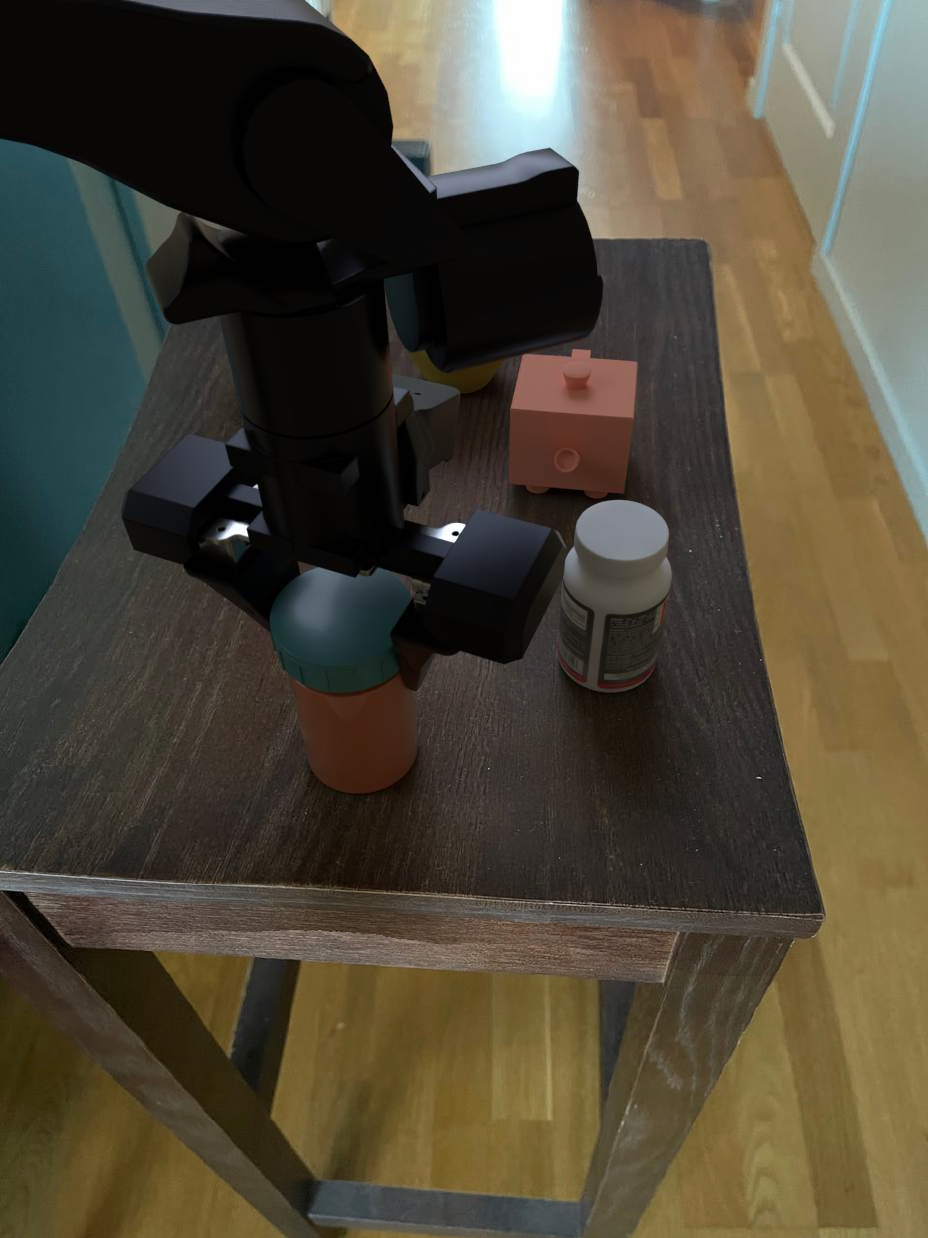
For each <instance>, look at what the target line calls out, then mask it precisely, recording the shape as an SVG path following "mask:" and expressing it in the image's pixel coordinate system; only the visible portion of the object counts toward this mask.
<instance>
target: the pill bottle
mask: <svg viewBox="0 0 928 1238" xmlns="http://www.w3.org/2000/svg"><path fill="white" fill-rule="evenodd" d="M669 539H670V530H669V526H668V523H667V522H666V520H665V519H664V518H663V517H662V515H661V514H660V513H658V512H657V511H655V510H654V509H653V508H651V507H649V506H647V505H645V504H643V503H640V502H636V501H632V500H625V499H613V500H606V501H605V500H604V501H601V502H598V503H596V504H593V505H591V506H590V507H588V508H586V509H585V510H584V511H583V512H582V513H581V514H580V516H579V517H578V518H577V521H576V525H575V531H574V537H573V547H571V549H570V550H569V552H568V554H566V557H565V569H564V576H563V578H562V580H561V593H560V594H561V595H560V607H559V623H558V637H557V656H558V657H557V658H558V660H559V663H560V665H561V668H562V669H563V671H564V672H565V674H566V675H567V677H569V678H570V679H571V680H572V681H574V682H575V683H577V684H579V685H580V686H581V687H584V688H586V689H589V690H592V691H595V692H600V693H621V692H626V691H630V690H632V689H635V688H636V687H638V686H640V685H641V684H644V682H645V681H646V680H648V679H649V678H650V676H651V675H652V673H653V671H654V670H655V668H656V665H657V661H658V659H659V658H658V657H659V651H660V647H661V640H662V634H663V629H664V625H665V620H666V614H667V610H668V603H669V598H670V593H671V588H672V580H673V572H672V566H671V564H670V560H669V559H668V557H667V554H668V547H669Z"/></svg>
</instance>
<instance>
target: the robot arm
mask: <svg viewBox="0 0 928 1238" xmlns="http://www.w3.org/2000/svg"><path fill="white" fill-rule="evenodd" d="M386 88H387V87H386V86H385V84H384V82H383V80H382V79H381V76H380V74H379V72H378V70H377V68H376V66H375V64H374V62H373V60H372V58H371V56H370V55H369V54H368V53H367V52H366V51H365V50H364V49H363V48H362V47H361V46H359V44H357V43H356V42H355V41H354V40H353V39H352V38H351V37H350V36H349V35H347V34H346V33H345V32H344V31H342V29H340V28H339V27H338V26H336V25H335V24H334V23H333V22H332V21H331V20H329V19H328V18H327V17H326V16H324V15H323V14H322V13H321V12H320V11H318V9H316V8H315V7H314V6H313V5H311V4H310V3H309V2H308V1H307V0H0V140H2V141H9V142H13V143H20V144H24V145H29V146H33V147H36V148H39V149H42V150H45V151H48V152H50V153H53V154H56V155H58V156H61V157H64V158H66V159H70V160H73V161H75V162H78V163H81V164H83V165H84V166H87V167H89V168H90V169H93V170H95V171H97V172H98V173H100V174H103V175H105V176H106V177H109V178H111V179H112V180H115V181H116V182H118V183H120V184H122V185H124V186H126V187H128V188H130V189H132V190H133V191H136V192H137V193H139V194H141V195H143V196H145V197H147V198H149V199H151V200H153V201H155V202H157V203H159V204H161V205H163V206H165V207H168V208H171V209H172V210H175V211H177V212H179V213H178V214H177V217H176V220H175V224H174V227H173V230H172V232H171V233H170V235H169V236H168V238H166V239H165V240H164V242H162V243H161V244H160V246H159V247H158V248H157V249H156V250H155V251H154V253H153V254H152V255H151V256H150V257H149V258H148V259H147V260H146V263H145V264H144V265H145V266H144V272H145V274H146V277H147V279H148V281H149V284H150V286H151V289H152V292H153V294H154V296H155V299H156V301H157V303H158V306H159V308H160V311H161V314H162V316H163V317H164V319H165V320H166V322H167V323H169V324H171V325H175V326H177V325H184V324H189V323H193V322H199V321H202V320H203V321H204V320H207V319H212V318H217V317H218V319H219V325H220V329H221V332H222V337H223V342H224V345H225V350H226V355H227V358H228V364H229V367H230V372H231V377H232V380H233V386H234V389H235V394H236V397H237V403H238V407H239V412H240V416H241V420H242V426H241V427H240V428H239V429H238V430H237V431H236V432H235V433H234V434H233V435H232V436H231V437H230V438H229V439H228V440H227V441H226V442H223V441H219V440H216V439H212V438H208V437H204V436H200V435H196V434H193V433H189V432H188V433H186V434H185V435H184V436H183V437H182V438H181V439H180V440H179V441H178V442H177V443H175V445H173V447H172V448H171V449H169V450H168V451H167V452H166V453H165V455H163V456H162V457H161V458H160V459H159V460H158V461H157V462H156V463H155V464H154V465H153V466H152V467H150V468H149V470H147V472H145V473H144V474H143V475H142V476H141V477H140V478H139V479H138V480H137V481H136V482H135V483H134V484H133V485H132V486H130V488H129V489H128V490H127V491H126V492H125V493H124V496H123V497H124V498H123V501H122V505H121V510H120V514H121V515H120V516H121V520H122V522H123V526H124V528H125V530H126V533H127V536H128V539H129V541H130V544H131V546H132V549H133V551H136V552H140V553H142V554H144V555H145V554H146V555H149V556H152V557H154V558H155V557H156V558H159V559H162V560H166V561H169V562H171V563H175V564H178V565H181V566H182V567H183V570H184V572H185V573H186V574H187V576H189V577H191V578H193V579H196V580H199V581H201V582H202V583H204V584H205V585H207V586H208V587H209V588H211V589H212V590H213V591H214V592H216V593H218V594H219V595H220V596H222V597H223V598H224V599H226V600H227V601H229V602H230V603H231V604H233V605H234V606H235V607H236V608H238V609H239V610H241V611H242V612H243V613H245V614H246V615H247V616H248V617H249V618H251V619H252V620H254V621H255V622H256V623H257V624H259V625H260V626H261V627H263V629H265V630H266V631H267V632H268V633H270V631H271V627H270V613H271V608H272V605H273V603H274V601H275V599H276V597H277V596H278V594H279V593H280V592H281V590H282V589H283V588H284V587H285V586H286V585H287V584H288V583H289V582H291V581H292V580H293V579H295V578H296V577H298V576H299V575H301V574H302V573H301V570H300V565H299V563H303V564H307V565H310V566H313V567H315V568H317V567H319V568H323V569H326V570H330V571H333V572H336V573H340V574H343V575H346V576H350V577H353V578H356V577H357V575H362V576H366V577H368V576H371V575H373V574H374V572H375V571H376V570H377V568H381V569H384V570H387V571H389V572H390V573H392V572H393V573H395V574H398V575H402V576H406V577H409V578H411V580H410V581H411V591H412V592H414V594H413V596H412V599H411V601H410V602H409V604H408V606H407V607H406V609H405V610H404V612H403V613H402V615H401V616H400V618H399V620H398V621H397V623H396V624H395V626H394V627H393V629H392V631H391V632H390V638H391V641H392V644H393V648H394V651H395V654H396V657H397V661H398V664H399V667H400V671H401V674H402V677H403V680H404V681H405V683H406V685H407V687H408V688H409V690H412V691H415V693H417V692H418V691H419V689H420V687H421V686H422V685H423V682H424V681H425V679H426V677H427V675H428V673H429V670H430V668H431V665H432V663H433V660H434V659H435V656H436V654H437V655H440V656H444V657H451V656H455V655H457V654H458V653H460V652H463V653H465V654H468V655H472V656H475V657H478V658H482V659H484V660H488V661H491V662H495V663H497V664H501V665H506V664H510V663H513V662H516V661H519V660H523V658H524V657H525V655H526V652H527V650H528V648H529V646H530V644H531V642H532V640H533V638H534V636H535V634H536V632H537V630H538V628H539V626H540V624H541V622H542V620H543V618H544V616H545V614H546V612H547V610H548V608H549V606H550V604H551V602H552V600H553V598H554V596H555V594H556V592H557V590H558V588H559V586H560V584H561V583H562V578H563V576H564V569H565V560H566V557H567V545H566V544H565V542H564V540H563V537H562V535H561V534H560V532H559V531H558V530H557V529H554V528H553V527H549V526H545V525H541V524H537V523H533V522H529V521H526V520H522V519H518V518H515V517H511V516H507V515H504V514H500V513H495V512H492V511H488V510H484V509H480V508H475V509H474V511H473V512H472V514H471V516H470V517H469V519H468V520H467V522H466V523H461V522H451V523H448V524H446V525H444V526H442V527H434V526H431V525H426V524H423V523H419V522H415V521H411V520H408V519H405V510H406V508H407V507H408V505H410V506H413V507H417V508H418V507H420V505H422V503H423V501H424V500H425V498H426V497H427V495H428V494H429V493H430V491H431V484H430V483H431V482H430V471H431V470H432V469H433V468H435V467H436V466H438V465H440V464H441V463H443V462H446V463H449V462H450V461H451V460H453V459H454V453H455V445H456V444H455V443H456V437H457V436H456V435H457V427H458V420H459V419H458V418H459V410H460V402H461V395H462V394H461V393H460V391H459V390H458V389H456V388H454V387H451V386H447V385H442V384H438V383H433V382H429V381H427V380H424V379H419V378H416V377H415V378H414V377H410V376H407V375H403V374H397V373H393V372H392V370H393V369H392V362H391V361H392V359H391V348H390V338H389V324H388V312H387V307H388V311H389V314H390V319H391V321H392V324H393V326H394V330H395V332H396V334H397V336H398V339H399V341H400V342H401V344H402V345H403V347H404V348H405V349H406V351H407V350H408V351H409V352H412V353H414V352H418V351H423V350H425V352H426V353H427V355H428V357H429V359H430V361H431V362H432V363H433V365H434V366H435V367H436V368H437V369H438V370H440V371H441V372H442V373H452V372H456V371H460V370H464V369H468V368H472V367H476V366H480V365H484V364H488V363H492V362H496V361H500V360H504V359H505V360H508V359H512V358H516V357H521V356H523V355H524V354H533V353H536V352H539V351H545V350H549V349H552V348H556V347H561V346H564V345H569V344H572V343H576V342H581V341H582V340H584V339H586V338H588V337H589V336H590V334H591V333H592V332H593V331H594V330H595V327H596V324H597V322H598V321H599V317H600V315H601V314H600V313H601V307H602V303H603V296H604V295H603V294H604V280H603V277H602V275H601V274H600V272H598V271H599V270H598V259H597V255H596V249H595V243H594V239H593V236H592V235H593V234H592V232H591V230H590V226H589V222H588V219H587V217H586V215H585V213H584V211H583V209H582V207H581V204H580V202H579V201H578V197H579V182H580V170H579V168H577V166H575V165H574V164H573V163H572V162H570V161H569V160H568V159H566V158H565V157H564V156H562V155H561V154H559V153H558V152H557V151H555V150H554V149H553V148H552V147H546V148H545V147H544V148H539V149H535V150H529V151H525V152H522V153H518V154H516V155H513V156H512V157H510V158H508V159H505V160H503V161H501V162H497V163H491V164H487V165H481V166H476V167H471V168H465V169H459V170H454V171H450V172H444V173H438V174H434V175H429V176H428V175H427V176H426V174H424V173H423V172H422V171H421V170H420V169H419V168H418V166H416V165H415V164H414V163H413V162H412V161H411V160H410V159H409V158H408V157H407V156H406V155H404V153H403V152H402V151H401V150H399V148H397V146H396V145H395V144H393V136H394V135H393V134H394V122H393V115H392V110H391V104H390V103H391V102H390V99H389V93H388V90H387V89H386ZM202 220H203V221H202ZM204 221H207V222H210V223H212V224H215V225H218V226H220V225H221V226H223V227H226V228H229V229H230V230H222V229H220V228H216V227H213V226H211V225H208V224H207V223H205V222H204ZM408 351H407V352H408ZM505 360H504V361H505ZM256 484H257V485H258V489H257V488H254V486H255V485H256Z"/></svg>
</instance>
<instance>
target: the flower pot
mask: <svg viewBox="0 0 928 1238" xmlns="http://www.w3.org/2000/svg"><path fill="white" fill-rule="evenodd" d="M406 351H407V353H408V354H409V357H410V358H411V360H412V362H413V363H414V365H415V367H416V368H417V369H418V370H419V372H420V373H421V375H422V376H423V377H424V379H426V381H429V382H433V383H438V384H442V385H447V386H451V387H454V388H456V389H458V390H459V391H460V393H461V394H460V395H463V394H471V393H474V392H477V391H479V390H481V389H483V388H484V387H487V385H488V384H489V383H490V382H491V380H492V379H493V378H494V376H495V375H496V374H497V372H498V371H499V369H500V368H501V367H502V365H503V363H504V362H505V360H506V359H504V360H500V361H496V362H492V363H488V364H484V365H480V366H476V367H472V368H468V369H464V370H460V371H456V372H452V373H442V372H441V371H440V370H438V369H437V368H436V367H435V366H434V365H433V363H432V362H431V361H430V359H429V357H428V355H427V353H426V352H425V350H423V351H418V352H414V353H412V352H409V351H408V350H407V349H406Z"/></svg>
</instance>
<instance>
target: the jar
mask: <svg viewBox="0 0 928 1238" xmlns="http://www.w3.org/2000/svg"><path fill="white" fill-rule="evenodd" d="M287 677H288V682H289V685H290V689H291V690H290V691H291V695H292V699H293V703H294V708H295V712H296V715H297V721H298V725H299V729H300V734H301V738H302V742H303V747H304V750H305V756H306V760H307V763H308V766H309V768H310V770H311V772H312V773H313V774H314V776H315V777H316V778H317V779H318V780H319V781H320V782H321V783H323V784H324V785H325V786H327V787H329V788H331V789H333V790H335V791H339V792H342V793H346V794H353V795H354V794H355V795H361V794H370V793H376V792H379V791H381V790H384V789H386V788H389V787H391V786H392V785H394V784H396V783H397V782H398V781H400V780H401V779H402V778H403V777H404V776H406V774H407V773H408V772H409V771H410V770H411V768H412V766H413V765H414V763H415V761H416V758H417V756H418V753H419V732H418V720H417V706H416V692H415V691H412V690H409V688H408V687H407V685H406V683H405V681H404V680H403V677H402V674H401V671H400V670H399V671H398V672H397V673H396V674H395V675H393V676H392V677H390V678H389V679H388V680H386V681H385V682H382V683H380V684H378V685H376V686H373V687H370V688H367V689H364V690H360V691H354V692H345V693H333V692H324V691H320V690H316V689H313V688H310V687H307V686H305V685H301V683H299V682H298V681H296V680H295V679H293V678H292V677H291V676H290V675H289V674H288V673H287Z"/></svg>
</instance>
